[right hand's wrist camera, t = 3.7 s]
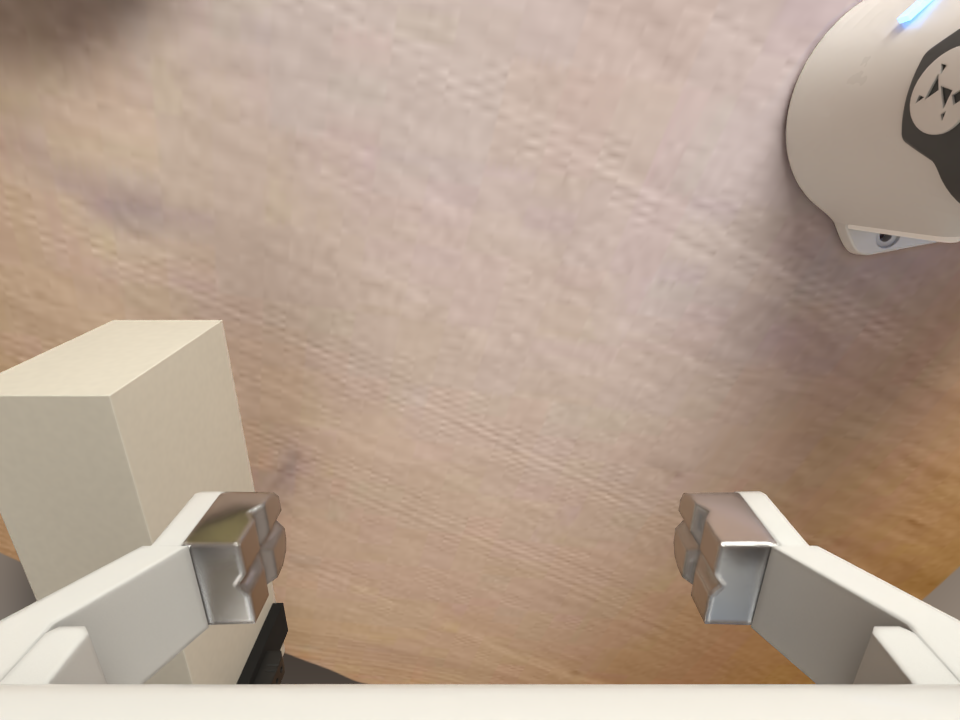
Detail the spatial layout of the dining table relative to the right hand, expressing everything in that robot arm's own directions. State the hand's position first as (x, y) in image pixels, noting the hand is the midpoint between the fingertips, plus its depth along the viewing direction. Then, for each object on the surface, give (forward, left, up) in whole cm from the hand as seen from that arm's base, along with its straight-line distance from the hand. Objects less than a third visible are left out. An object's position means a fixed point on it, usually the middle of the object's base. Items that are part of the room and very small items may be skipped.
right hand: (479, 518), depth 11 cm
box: (+18, +15, -20) cm, 31 cm away
